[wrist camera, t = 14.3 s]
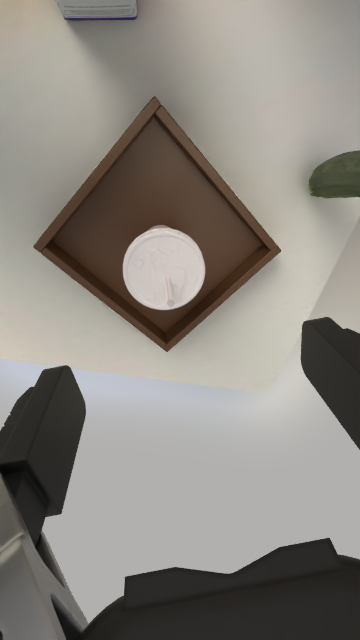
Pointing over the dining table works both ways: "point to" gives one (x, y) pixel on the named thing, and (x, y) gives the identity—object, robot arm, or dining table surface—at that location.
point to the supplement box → (98, 9)
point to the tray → (151, 210)
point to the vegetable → (337, 177)
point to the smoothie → (163, 268)
